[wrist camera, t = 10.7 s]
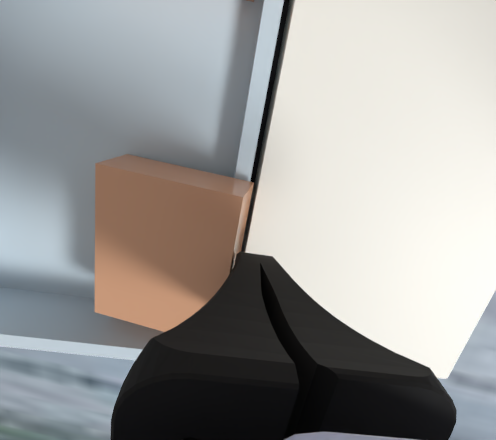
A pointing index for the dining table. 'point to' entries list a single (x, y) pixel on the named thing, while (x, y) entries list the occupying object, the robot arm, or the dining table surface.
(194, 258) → the terracotta tile
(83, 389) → the dining table surface
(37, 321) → the tray
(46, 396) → the dining table surface
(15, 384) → the dining table surface
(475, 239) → the cream plate
